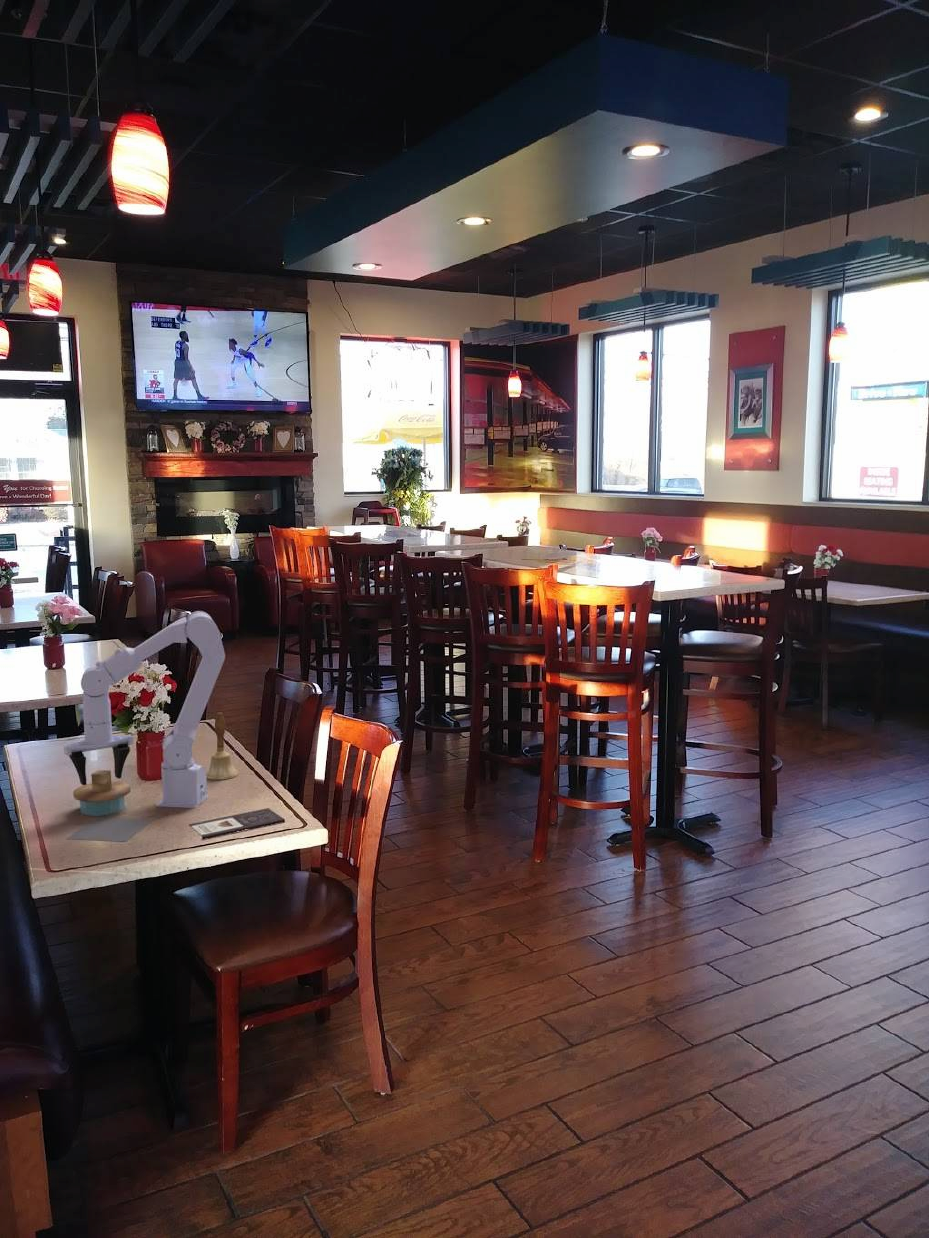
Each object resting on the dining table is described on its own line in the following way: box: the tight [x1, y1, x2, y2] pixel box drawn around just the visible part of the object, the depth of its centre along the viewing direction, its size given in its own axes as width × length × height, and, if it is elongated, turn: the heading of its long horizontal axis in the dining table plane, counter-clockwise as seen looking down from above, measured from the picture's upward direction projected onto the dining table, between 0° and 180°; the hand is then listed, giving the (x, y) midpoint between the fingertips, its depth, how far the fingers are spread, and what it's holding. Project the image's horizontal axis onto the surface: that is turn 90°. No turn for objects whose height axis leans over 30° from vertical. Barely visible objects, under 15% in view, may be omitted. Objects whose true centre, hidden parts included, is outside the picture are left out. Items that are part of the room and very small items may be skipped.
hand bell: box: [206, 711, 239, 781], centre depth 243 cm, size 8×8×16 cm
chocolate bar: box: [188, 807, 286, 840], centre depth 210 cm, size 9×1×18 cm
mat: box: [65, 816, 154, 843], centre depth 206 cm, size 13×13×1 cm
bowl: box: [79, 796, 125, 817], centre depth 219 cm, size 9×9×4 cm
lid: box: [72, 769, 132, 802], centre depth 218 cm, size 12×12×5 cm
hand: (101, 780), depth 218 cm, fingers open, 7 cm apart
